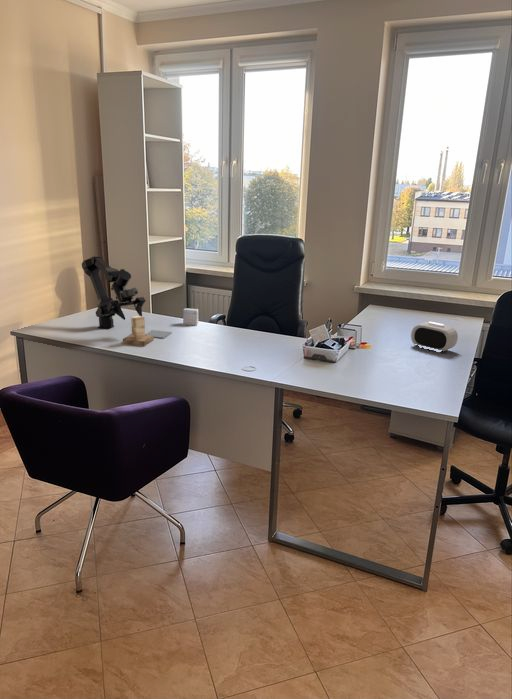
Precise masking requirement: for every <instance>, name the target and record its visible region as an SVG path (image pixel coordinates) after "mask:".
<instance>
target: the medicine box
mask: <svg viewBox="0 0 512 699" xmlns="http://www.w3.org/2000/svg"><path fill="white" fill-rule="evenodd" d="M182 325H183V326H196V327H197V326H198V325H199V309H198V308H188V307H187V308H186V307H185V308H184V309H183V310H182Z"/></svg>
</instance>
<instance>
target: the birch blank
mask: <svg viewBox="0 0 512 699" xmlns="http://www.w3.org/2000/svg"><path fill="white" fill-rule="evenodd" d="M130 317H131V322H130V324H131V334H132V337H133V338H136V339H139V338H145V334H146V333H145V332H146V331H145V329H146V327H145V316H143V315H142V316H139V315H136V316H130Z"/></svg>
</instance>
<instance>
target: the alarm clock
mask: <svg viewBox="0 0 512 699" xmlns="http://www.w3.org/2000/svg"><path fill="white" fill-rule="evenodd" d="M410 340H411V342H412V343H413V345H415V344H417V345H421V346H426V347H430V348H434V349H438V350H442V351H443V352H446V351H448V350H450V349H452V348H454V347H455V346H456V344H457V342H458V331H457V330H456V329H455V328H454V327H452V326H449V325H446V324H444V323H441V322H440V323H439V322H434V321H425V322H422V323H420V324H417V325H415V326H414V327H413V328H412V330H411V333H410Z"/></svg>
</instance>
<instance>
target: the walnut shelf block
mask: <svg viewBox="0 0 512 699" xmlns="http://www.w3.org/2000/svg"><path fill="white" fill-rule="evenodd" d="M146 334H147V333H145V338H139V339H136V338H133V337H132V333H131V334H129V335H127V336H125V337H124V338H123V339H122V344H123V345H127V346H128V345H130V346H136V347H137V346H140V347H145V346H146V347H147V345H149V344H150V343H152V342H153V341H154V338H153V335H146Z"/></svg>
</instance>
